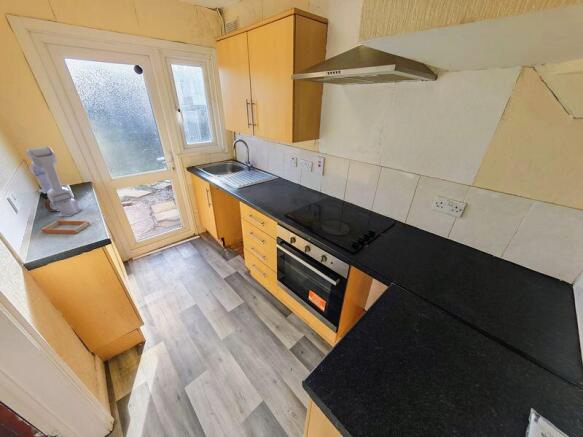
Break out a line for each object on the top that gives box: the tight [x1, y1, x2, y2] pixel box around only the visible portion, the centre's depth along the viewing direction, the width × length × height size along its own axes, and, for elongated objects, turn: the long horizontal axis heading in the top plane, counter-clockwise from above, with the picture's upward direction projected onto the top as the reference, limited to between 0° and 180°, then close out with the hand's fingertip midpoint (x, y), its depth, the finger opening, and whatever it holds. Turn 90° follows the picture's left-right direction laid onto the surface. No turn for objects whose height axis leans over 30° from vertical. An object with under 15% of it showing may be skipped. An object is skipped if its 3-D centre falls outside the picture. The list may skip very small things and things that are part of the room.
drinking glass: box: [61, 183, 75, 199], centre depth 168 cm, size 7×7×10 cm
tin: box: [44, 199, 58, 211], centre depth 154 cm, size 15×3×8 cm, turn 0°
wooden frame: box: [40, 219, 91, 235], centre depth 133 cm, size 10×19×2 cm, turn 88°
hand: (56, 202), depth 154 cm, fingers open, 7 cm apart
